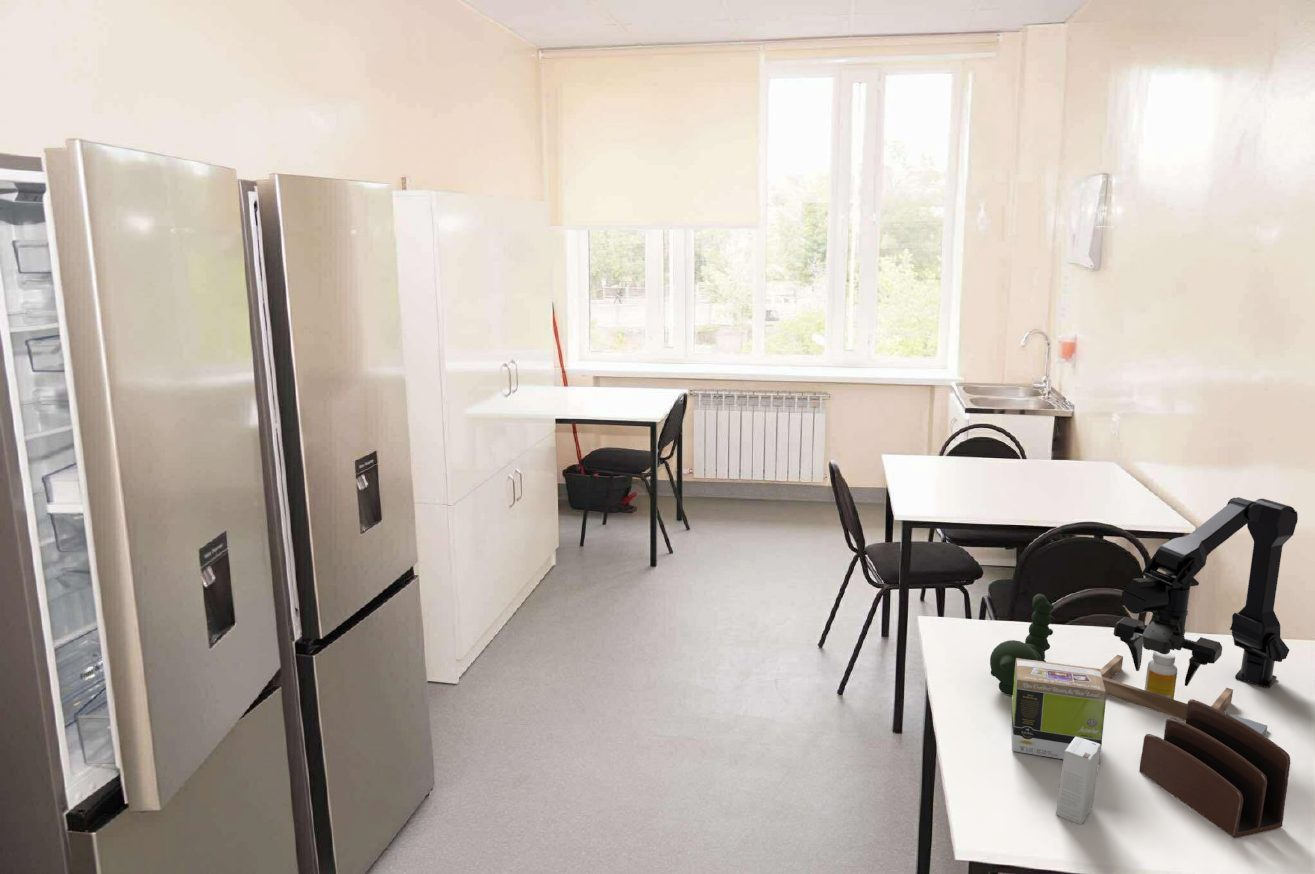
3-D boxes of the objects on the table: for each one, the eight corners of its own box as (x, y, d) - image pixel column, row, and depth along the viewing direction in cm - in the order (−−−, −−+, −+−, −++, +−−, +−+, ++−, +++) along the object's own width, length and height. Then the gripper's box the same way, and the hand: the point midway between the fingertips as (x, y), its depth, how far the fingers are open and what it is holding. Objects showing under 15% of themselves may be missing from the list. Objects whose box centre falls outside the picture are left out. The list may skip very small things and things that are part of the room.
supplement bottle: (1177, 705, 188) (1183, 661, 186) (1148, 702, 189) (1154, 658, 187) (1168, 692, 193) (1174, 649, 191) (1140, 690, 194) (1146, 647, 192)
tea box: (1093, 739, 175) (1102, 667, 172) (1099, 767, 166) (1108, 692, 163) (1008, 725, 180) (1015, 655, 177) (1010, 752, 171) (1017, 678, 168)
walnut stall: (1115, 667, 205) (1117, 654, 204) (1231, 702, 189) (1233, 689, 189) (1091, 689, 195) (1092, 676, 194) (1210, 728, 179) (1212, 714, 179)
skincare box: (1066, 798, 157) (1073, 733, 154) (1094, 809, 154) (1102, 743, 151) (1054, 815, 152) (1061, 748, 150) (1083, 826, 149) (1091, 759, 147)
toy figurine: (1015, 664, 209) (974, 696, 190) (1026, 584, 206) (985, 608, 187) (1059, 677, 203) (1020, 711, 184) (1070, 594, 200) (1032, 620, 181)
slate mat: (1225, 717, 184) (1226, 712, 183) (1266, 730, 179) (1267, 725, 179) (1211, 735, 177) (1211, 731, 176) (1253, 750, 172) (1254, 745, 172)
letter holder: (1182, 763, 168) (1192, 691, 165) (1283, 829, 149) (1296, 750, 146) (1137, 771, 165) (1147, 699, 162) (1234, 840, 147) (1247, 759, 144)
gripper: (1108, 604, 188) (1099, 675, 191) (1211, 632, 175) (1200, 707, 178) (1127, 590, 195) (1119, 658, 199) (1227, 615, 183) (1217, 688, 186)
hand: (1161, 677), depth 190 cm, fingers open, 9 cm apart
